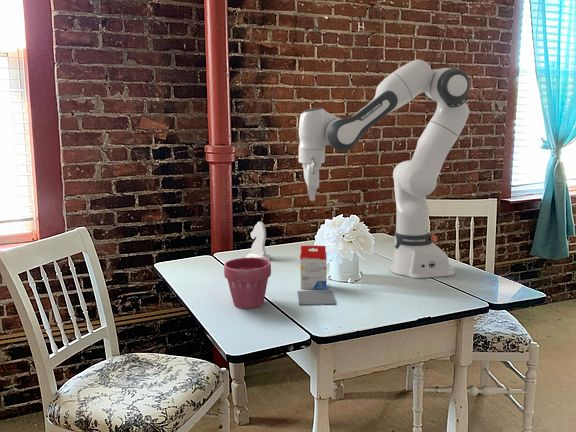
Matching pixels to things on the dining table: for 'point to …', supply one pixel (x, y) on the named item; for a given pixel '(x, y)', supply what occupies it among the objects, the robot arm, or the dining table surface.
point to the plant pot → (247, 280)
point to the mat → (316, 298)
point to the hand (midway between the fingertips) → (311, 198)
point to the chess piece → (259, 242)
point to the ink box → (313, 267)
